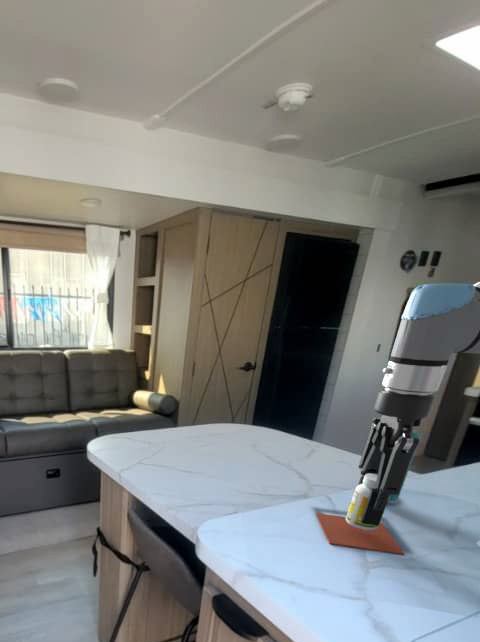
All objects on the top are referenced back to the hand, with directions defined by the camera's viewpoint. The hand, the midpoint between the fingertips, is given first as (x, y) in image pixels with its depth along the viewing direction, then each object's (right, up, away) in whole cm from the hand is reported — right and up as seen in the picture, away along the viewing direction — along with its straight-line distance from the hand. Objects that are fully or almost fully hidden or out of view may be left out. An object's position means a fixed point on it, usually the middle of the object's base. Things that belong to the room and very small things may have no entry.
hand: (364, 515), depth 76 cm
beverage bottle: (+13, +2, +15) cm, 19 cm away
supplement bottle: (0, -2, +1) cm, 2 cm away
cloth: (0, -3, +2) cm, 4 cm away
